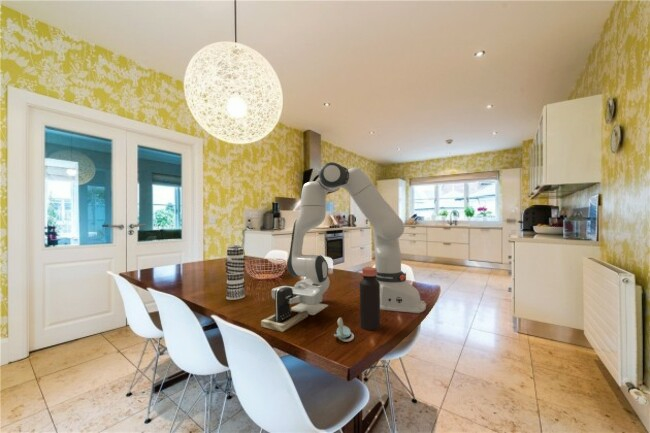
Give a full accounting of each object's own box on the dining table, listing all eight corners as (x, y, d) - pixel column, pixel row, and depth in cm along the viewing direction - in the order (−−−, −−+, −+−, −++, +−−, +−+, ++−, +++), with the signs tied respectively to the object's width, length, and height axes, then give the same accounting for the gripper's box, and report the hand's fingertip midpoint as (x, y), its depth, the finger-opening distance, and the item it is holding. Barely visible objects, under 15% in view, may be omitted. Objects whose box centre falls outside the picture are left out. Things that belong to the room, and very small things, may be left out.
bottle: (364, 321, 95) (364, 266, 95) (382, 324, 91) (382, 267, 91) (357, 328, 89) (356, 269, 89) (376, 332, 85) (375, 271, 85)
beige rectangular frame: (307, 316, 100) (307, 311, 100) (282, 331, 86) (282, 325, 86) (288, 312, 104) (288, 307, 104) (261, 326, 91) (261, 320, 91)
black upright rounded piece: (283, 323, 91) (282, 290, 91) (274, 322, 92) (274, 289, 93) (294, 317, 97) (294, 286, 97) (286, 316, 99) (286, 285, 99)
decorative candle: (249, 294, 129) (248, 244, 130) (238, 300, 120) (238, 246, 121) (232, 293, 131) (232, 244, 132) (221, 299, 122) (221, 246, 123)
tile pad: (328, 305, 112) (328, 305, 112) (313, 315, 101) (313, 314, 101) (304, 301, 117) (304, 301, 117) (288, 310, 107) (288, 309, 107)
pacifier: (355, 334, 85) (337, 332, 86) (356, 315, 85) (338, 313, 86) (351, 345, 77) (332, 342, 79) (352, 324, 77) (332, 321, 79)
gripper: (283, 280, 111) (261, 288, 99) (325, 286, 101) (306, 295, 89) (284, 295, 111) (261, 305, 99) (325, 302, 101) (306, 314, 89)
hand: (283, 300), depth 94 cm, fingers closed on black upright rounded piece, 4 cm apart
